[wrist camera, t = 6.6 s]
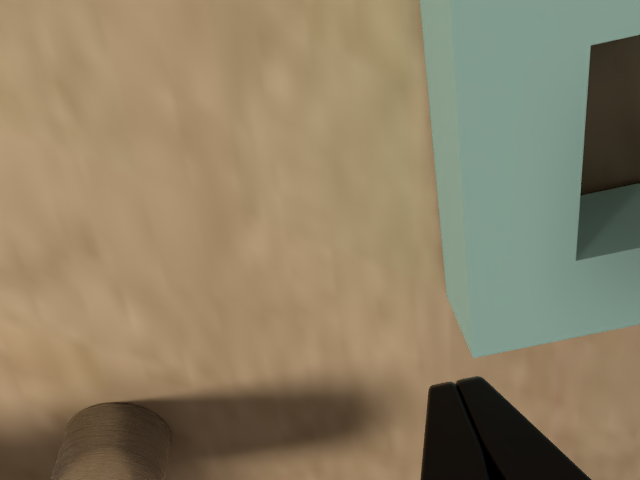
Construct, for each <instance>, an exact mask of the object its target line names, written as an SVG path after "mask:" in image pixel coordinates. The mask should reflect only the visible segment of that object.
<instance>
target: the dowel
mask: <svg viewBox="0 0 640 480" xmlns="http://www.w3.org/2000/svg"><path fill="white" fill-rule="evenodd" d="M170 441H171V435H170V431H169V428H168V426H167V425H166V423H165V422H164V421H163V420H162V419H161V418H160V417H159V416H158V415H156V414H155V413H153V412H151V411H149V410H147V409H145V408H142V407H139V406H136V405H131V404H125V403H104V404H98V405H94V406H91V407H88V408H86V409H84V410H82V411H80V412H79V413H77V414H76V415H75V416H74V417H73V418H72V419H71V420H70V421H69V423H68V425H67V428H66V431H65V434H64V437H63V441H62V444H61V447H60V450H59V453H58V456H57V459H56V462H55V465H54V469H53V472H52V475H51V478H50V480H165V477H166V470H167V462H168V455H169V448H170Z"/></svg>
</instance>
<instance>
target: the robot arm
mask: <svg viewBox="0 0 640 480" xmlns="http://www.w3.org/2000/svg"><path fill="white" fill-rule="evenodd" d="M421 480H591V479H590V478H589V477H588V476H587V475H586V474H585V473H584V472H583V471H582V470H580V469H579V468H578V467H577V466H576V465H575V464H574V463H573V462H572V461H571V460H570V459H569V458H568V457H567V456H566V455H565V454H563V453H562V452H561V451H560V450H559V449H558V448H557V447H556V446H555V445H554V444H553V443H552V442H551V441H550V440H549V439H547V438H546V437H545V436H544V435H543V434H542V433H541V432H540V431H539V430H538V429H537V428H536V427H535V426H534V425H533V424H532V423H530V422H529V421H528V420H527V419H526V418H525V417H524V416H523V415H522V414H521V413H520V412H519V411H518V410H517V409H516V408H514V407H513V406H512V405H511V404H510V403H509V402H508V401H507V400H506V399H505V398H504V397H503V396H502V395H501V394H500V393H499V392H497V391H496V390H495V389H494V388H493V387H492V386H491V385H490V384H489V383H488V382H487V381H486V380H485V379H483V378H482V377H479V376H476V377H471V378H466V379H461V380H458V381H457V382H456V384H454V383H453V382H446V383H441V384H436V385H432V386H430V388H429V392H428V403H427V414H426V425H425V437H424V448H423V459H422V470H421Z"/></svg>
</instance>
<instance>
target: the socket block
mask: <svg viewBox="0 0 640 480" xmlns="http://www.w3.org/2000/svg"><path fill="white" fill-rule="evenodd" d="M420 7H421V18H422V29H423V40H424V51H425V62H426V73H427V84H428V95H429V106H430V117H431V128H432V139H433V150H434V161H435V172H436V183H437V194H438V205H439V216H440V227H441V238H442V249H443V260H444V271H445V282H446V293H447V297H448V300H449V302H450V305H451V307H452V309H453V312H454V314H455V317H456V319H457V321H458V324H459V326H460V328H461V331H462V333H463V336H464V338H465V340H466V343H467V345H468V347H469V350H470V352H471V355H472V357H473V358H476V357H481V356H486V355H491V354H496V353H501V352H506V351H511V350H516V349H521V348H526V347H531V346H535V345H540V344H545V343H550V342H555V341H560V340H565V339H570V338H575V337H580V336H585V335H589V334H594V333H599V332H604V331H609V330H614V329H619V328H624V327H629V326H634V325H639V324H640V183H638V184H633V185H628V186H623V187H619V188H614V189H609V190H604V191H600V192H595V193H590V194H586V195H581V196H580V193H581V179H582V164H583V150H584V136H585V121H586V107H587V92H588V78H589V64H590V49H591V45H595V44H600V43H604V42H609V41H613V40H618V39H623V38H627V37H632V36H636V35H640V0H420Z"/></svg>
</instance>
